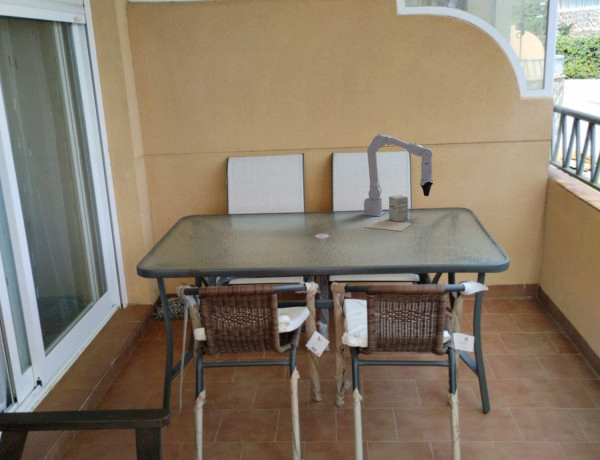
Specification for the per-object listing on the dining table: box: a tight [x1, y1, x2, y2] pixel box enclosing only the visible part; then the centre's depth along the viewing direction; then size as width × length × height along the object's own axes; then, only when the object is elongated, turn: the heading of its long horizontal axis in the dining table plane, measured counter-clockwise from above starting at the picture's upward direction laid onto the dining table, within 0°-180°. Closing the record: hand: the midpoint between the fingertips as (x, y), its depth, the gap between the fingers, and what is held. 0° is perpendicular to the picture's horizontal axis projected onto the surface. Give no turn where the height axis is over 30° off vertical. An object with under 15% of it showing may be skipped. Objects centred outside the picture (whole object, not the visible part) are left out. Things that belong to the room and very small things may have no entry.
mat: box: [364, 219, 412, 232], centre depth 308 cm, size 20×14×1 cm
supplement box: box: [388, 194, 409, 222], centre depth 317 cm, size 7×7×13 cm
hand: (426, 195), depth 323 cm, fingers closed
